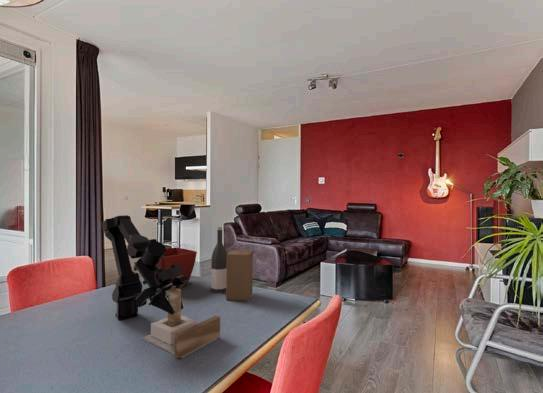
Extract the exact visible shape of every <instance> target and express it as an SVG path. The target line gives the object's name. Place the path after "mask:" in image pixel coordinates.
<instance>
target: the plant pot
mask: <svg viewBox="0 0 543 393" xmlns="http://www.w3.org/2000/svg"><path fill="white" fill-rule="evenodd" d="M197 252H198V251H197V250H192V249H188V248H187V249H186V248H183V247H178V246H177V247H169V248H168V247H167V248H166V252H165V254H164V255H163V257H162V258H161V260H160V262H159V263H158V264H157V265H158V267H159V268H160V269H161V268H164V269H165V270H167V269H169V268H171V265H174V264H176V263H178V265H179V266H180V267H181V272H180V275H179V276H181V275H184V276H185V277H186V278H187V282H186V283H185V284H184V285H183V286H182V287H184V286H185V287H186V286H187V285H188V284H189V282H190V279H191V276H192V273H193V270H194V267H195V264H196V259H197ZM176 277H178V275H177V276H175V277H173V278H172V279H173V280H174V279H175V278H176ZM173 280H172V281H173ZM172 281H170V282H169V283H171V282H172Z"/></svg>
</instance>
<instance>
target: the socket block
mask: <svg viewBox="0 0 543 393" xmlns="http://www.w3.org/2000/svg"><path fill="white" fill-rule="evenodd" d="M196 324H198V321H197V320H195V319H193V318H190V317H187V316H184V315H182V314H181V324H180V325H178V326H175V327H173V328H172V327H169V326H168V316H167V317H165V318H162V319H160V320H157V321H155V322H151V323H150V334H151V336H152V337H155V338H157V339H159V340H161V341H163V342H165V343H167V344H170V345H172V344H174V334H176V333H178V332H180V331H183V330H185V329H187V328H189V327H191V326H194V325H196Z"/></svg>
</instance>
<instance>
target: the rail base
mask: <svg viewBox="0 0 543 393" xmlns="http://www.w3.org/2000/svg"><path fill="white" fill-rule="evenodd" d="M220 336H221V316H218V315H214V316H212V317H209V318H208V319H205V320H203V321H200V322H199V323H198V322H197V324H196V325H194V326H191V327H189V328H187V329H185V330H183V331H180V332H178V333H176V334H174V344H172V345H170V344H167V343H165V342H163V341H161V340H159V339H157V338H155V337H152V336H151V333H150V334H148V335H145V336H144V337H142V340H143V341H145V342H147V343H149V344H151V345H153V346H156V347H158V348H160V349H161V350H163V351H165V352H168V353H170V354H171V355H173V356H175V357H176V358H178V359H183V358H186V357H187V356H188V355H191V354H192V353H195V352H196V351H199V349H202V348H203V347H205V346H208V345H209V344H211V343H213V342H215V341H217V340H218V338H219V337H220Z"/></svg>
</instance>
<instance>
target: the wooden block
mask: <svg viewBox="0 0 543 393" xmlns="http://www.w3.org/2000/svg"><path fill="white" fill-rule="evenodd" d="M253 263H254V250H247V249H245V250H243V249H232V250H230V251H229V252H227V266H226V291H225V300H226V301H235V302H236V301H238V302H239V301H240V302H249V301H250V299H251V297H252V295H253V284H254V283H253V282H254V280H253V277H254V276H253V275H254V274H253V272H254V269H253V266H254V264H253Z"/></svg>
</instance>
